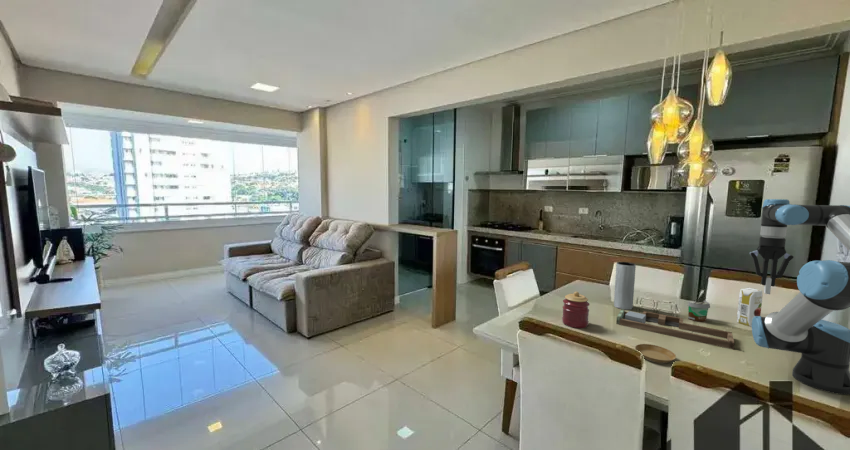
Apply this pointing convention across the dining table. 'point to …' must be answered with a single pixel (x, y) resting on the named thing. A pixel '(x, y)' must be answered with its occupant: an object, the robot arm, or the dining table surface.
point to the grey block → (635, 317)
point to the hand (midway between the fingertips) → (766, 293)
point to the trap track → (679, 323)
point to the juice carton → (749, 305)
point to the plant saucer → (656, 353)
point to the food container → (698, 311)
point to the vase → (624, 285)
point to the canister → (575, 310)
